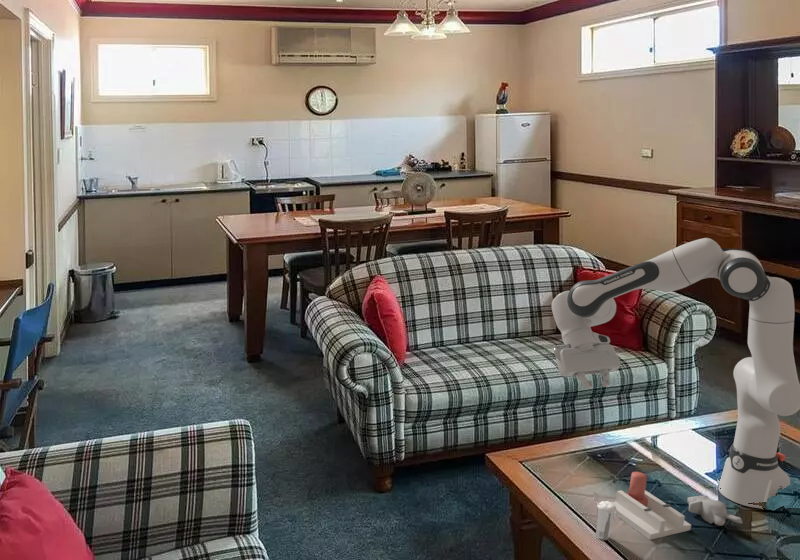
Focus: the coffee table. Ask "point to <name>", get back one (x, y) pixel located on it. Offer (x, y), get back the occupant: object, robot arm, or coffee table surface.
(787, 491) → the coffee table surface
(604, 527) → the milkshake
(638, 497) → the red plug
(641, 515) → the white slider track base
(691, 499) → the bunny figurine
